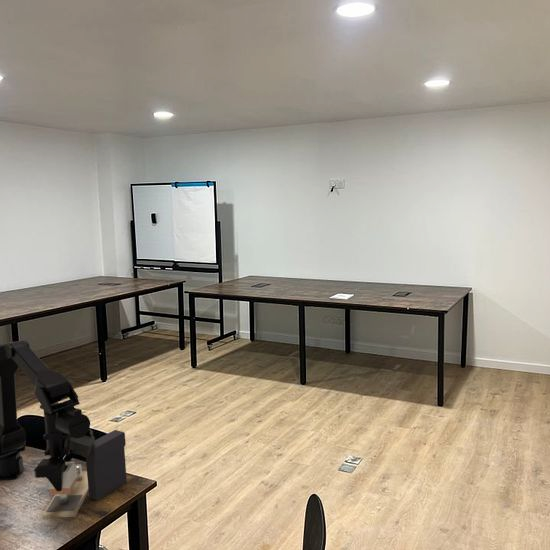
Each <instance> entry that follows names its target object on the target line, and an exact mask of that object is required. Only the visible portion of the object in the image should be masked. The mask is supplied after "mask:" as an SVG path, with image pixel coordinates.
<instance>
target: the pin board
mask: <svg viewBox="0 0 550 550" xmlns="http://www.w3.org/2000/svg"><path fill="white" fill-rule="evenodd" d="M88 494H89V490H88V478H87V470H84V471H83V470H82V480H81V481H76V484H75V486H74V488H73V489H72V491H71V493H70V494H68V499H69V503H68V504H66V505H61V504H60V494H54V496H53V497H52V499H51V500H50V502H49V504H48V505H47V507H46V508H45V510H44V512H43V513H42V519H59V518H73V517H76V516H77V515H78V513H79V511H80V509H81V507H82V505H83V502H84V501H85V499H86V497H87V496H88Z"/></svg>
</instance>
